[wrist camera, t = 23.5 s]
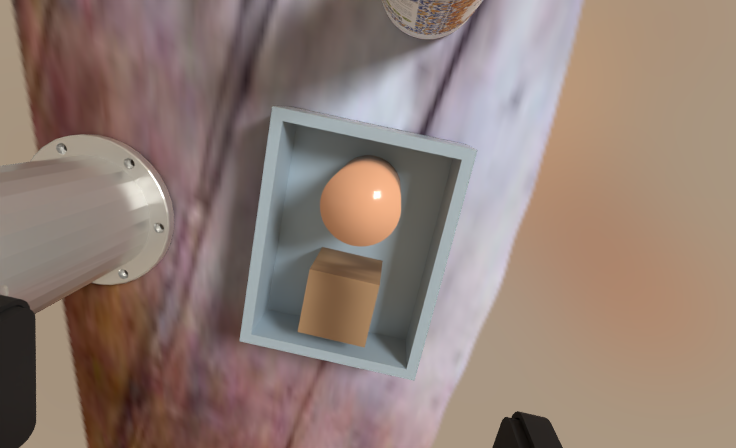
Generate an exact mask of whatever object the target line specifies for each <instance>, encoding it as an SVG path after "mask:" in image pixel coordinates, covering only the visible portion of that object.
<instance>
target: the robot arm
mask: <svg viewBox="0 0 736 448" xmlns="http://www.w3.org/2000/svg"><path fill="white" fill-rule="evenodd" d="M134 163H135V164H134ZM162 225H163V226H164V227H163V226H162ZM173 232H174V212H173V206H172V201H171V198H170V195H169V193H168V190H167V187H166V186H165V184H164V182H163V180H162V178H161V177H160V175H159V174H158V172H157V171H156V170H155V169H154V167H153V166H152V165H151V163H150V162H149V161H147V160H146V159H145V158H144V157H143V156H142V155H141V154H140V153H139V152H137V151H136V150H134V149H133V148H131V147H129V146H128V145H126V144H125V143H122V142H120V141H117V140H115V139H113V138H110V137H105V136H100V135H88V134H81V135H72V136H66V137H62V138H59V139H56V140H54V141H52V142H50V143H49V144H47V145H45V146H44V147H42V148H41V149H40V150H39V151H38V152H37V153H36V154H35V155H34V156H33V158H32V159H31V161H30V162H26V163H18V164H11V165H3V166H0V448H19V447H20V446H21V445H23V444H24V443H25V442H26V441H27V440H28V438H29V436H30V435H31V434H32V432H33V430H34V427H35V424H36V346H35V314H36V313H37V312H39V311H41V310H43V309H45V308H46V307H48V306H50V305H52V304H54V303H55V302H57V301H59V300H61V299H63V298H64V297H66V296H68V295H70V294H72V293H73V292H75V291H77V290H79V289H81V288H82V287H84V286H86V285H88V284H90V283H95V284H102V285H115V284H122V283H127V282H129V281H132V280H135V279H137V278H139V277H141V276H142V275H144V274H146V273H147V272H149V271H150V270H151V269H153V268H154V267H155V266H156V265H157V264H158V263H159V262H160V261H161V259H162V258H163V257H164V256H165V254H166V252H167V250H168V248H169V246H170V244H171V240H172V236H173ZM493 448H563V447H562V445H561V443H560V441H559V440H558V437H557V435H556V433H555V431H554V429H553V427H552V424H551V423H550V421H549V420H548V419H547V418H545V417H540V416H536V415H531V414H527V413H522V412H515V413H514V414H513V415H512V418H508V417H505V418H504V419H503V420H502V422H501V425H500V428H499V431H498V434H497V436H496V439H495V442H494V445H493Z"/></svg>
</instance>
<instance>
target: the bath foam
mask: <svg viewBox="0 0 736 448" xmlns="http://www.w3.org/2000/svg"><path fill="white" fill-rule="evenodd" d="M482 1H483V0H382V3H383V6H384V9H385V11H386V13H387V15H388V17H389V18H390V20H391V21H392V22H393V23H394V24H395V26H397V27H398V28H399V29H400V30H401V31H403V32H404V33H406V34H408V35H410V36H412V37H415V38H419V39H437V38H441V37H444V36H447V35H449V34H451V33H453V32H454V31H456V30H457V29H459V28H460V27H461V26H462V25H463V24H464V23H465V22H466V21H467V20H468V19H469V18H470V16H471V15H472V14H473V13H474V11H475V10H476V9H477V7H478V6H479V5H480V3H481V2H482Z"/></svg>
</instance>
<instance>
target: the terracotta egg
mask: <svg viewBox="0 0 736 448" xmlns="http://www.w3.org/2000/svg"><path fill="white" fill-rule="evenodd" d="M320 212H321V217H322V220H323V222H324V224H325V226H326V228H327V229H328V230H329V232H330V233H331V234H332V235H333V236H334V237H336V238H337V239H338V240H340V241H342V242H343V243H346V244H349V245H352V246H370V245H374V244H377V243H379V242H381V241H383V240H384V239H386V238H387V237H388V236H389V235H390V234H391V233H392V232H393V231H394V229H395V228H396V226H397V224H398V221H399V218H400V214H401V182H400V178H399V175H398V173H397V171H396V170H395V168H394V167H393V166H392V165H391V164H390V163H389V162H388V161H386V160H384V159H383V158H380V157H377V156H373V155H364V156H359V157H356V158H354V159H352V160H350V161H349V162H348V163H347V164H346V165H345V166H344V167H343V168H342V169H341V170H340V171H338V172H337V173H336V174H335V175H334V176H333V177H332V178H331V180H330V181H329V182H328V183H327V184H326V186H325V188H324V190H323V192H322V195H321V199H320Z"/></svg>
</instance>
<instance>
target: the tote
mask: <svg viewBox="0 0 736 448" xmlns="http://www.w3.org/2000/svg"><path fill="white" fill-rule="evenodd" d="M476 154H477V150H476V149H474V148H472V147H470V146H468V145H466V144H462V143H458V142H453V141H448V140H444V139H439V138H434V137H430V136H425V135H420V134H416V133H411V132H407V131H402V130H397V129H393V128H388V127H383V126H379V125H374V124H369V123H365V122H360V121H355V120H351V119H346V118H341V117H337V116H332V115H327V114H323V113H318V112H314V111H309V110H304V109H300V108H295V107H285V106H272V112H271V119H270V126H269V133H268V140H267V148H266V155H265V162H264V169H263V176H262V183H261V191H260V198H259V205H258V212H257V219H256V226H255V234H254V241H253V248H252V255H251V262H250V269H249V277H248V284H247V291H246V298H245V305H244V312H243V320H242V327H241V334H240V341H241V342H245V343H250V344H254V345H259V346H263V347H267V348H272V349H276V350H281V351H285V352H290V353H294V354H298V355H303V356H307V357H312V358H316V359H321V360H325V361H330V362H334V363H338V364H343V365H347V366H352V367H356V368H361V369H365V370H369V371H374V372H378V373H383V374H387V375H392V376H396V377H400V378H405V379H409V380H415V377H416V373H417V369H418V366H419V362H420V358H421V355H422V351H423V347H424V344H425V340H426V336H427V333H428V329H429V326H430V322H431V318H432V315H433V311H434V307H435V304H436V300H437V296H438V293H439V289H440V285H441V282H442V278H443V274H444V271H445V267H446V263H447V260H448V256H449V252H450V249H451V245H452V241H453V238H454V234H455V230H456V227H457V223H458V220H459V216H460V212H461V209H462V205H463V201H464V198H465V194H466V190H467V187H468V183H469V179H470V176H471V172H472V168H473V165H474V161H475V157H476ZM364 155H373V156H377V157H380V158H383V159H384V160H386V161H388V162H389V163H390V164H391V165H392V166H393V167H394V168H395V170H396V171H397V173H398V175H399V178H400V182H401V214H400V218H399V221H398V224H397V226H396V228H395V229H394V231H393V232H392V233H391V234H390V235H389V236H388V237H387V238H386V239H384V240H383V241H381V242H379V243H377V244H374V245H370V246H352V245H349V244H346V243H343V242H342V241H340V240H338V239H337V238H336V237H334V236H333V235H332V234H331V233H330V232H329V230H328V229H327V228H326V226H325V224H324V222H323V220H322V217H321V212H320V199H321V195H322V192H323V190H324V188H325V186H326V184H327V183H328V182H329V181H330V180H331V178H332V177H333V176H334V175H335V174H336V173H337V172H338V171H340V170H341V169H342V168H343V167H344V166H345V165H346V164H347V163H348V162H349V161H350V160H352V159H354V158H356V157H359V156H364ZM322 247H325V248H330V249H334V250H338V251H343V252H347V253H351V254H356V255H360V256H364V257H369V258H373V259H377V260H381V261H383V262H382V271H381V279H380V286H379V290H378V295H377V299H376V303H375V307H374V311H373V315H372V319H371V323H370V327H369V332H368V336H367V340H366V344H365V348H364V347H360V346H356V345H352V344H347V343H343V342H339V341H334V340H330V339H326V338H322V337H317V336H313V335H309V334H305V333H300V332H298V327H299V322H300V316H301V311H302V306H303V301H304V296H305V290H306V285H307V280H308V275H309V270H310V267H311V266H312V264H313V262H314V260H315V259H316V257H317V255H318V254H319V252H320V250H321V248H322Z"/></svg>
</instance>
